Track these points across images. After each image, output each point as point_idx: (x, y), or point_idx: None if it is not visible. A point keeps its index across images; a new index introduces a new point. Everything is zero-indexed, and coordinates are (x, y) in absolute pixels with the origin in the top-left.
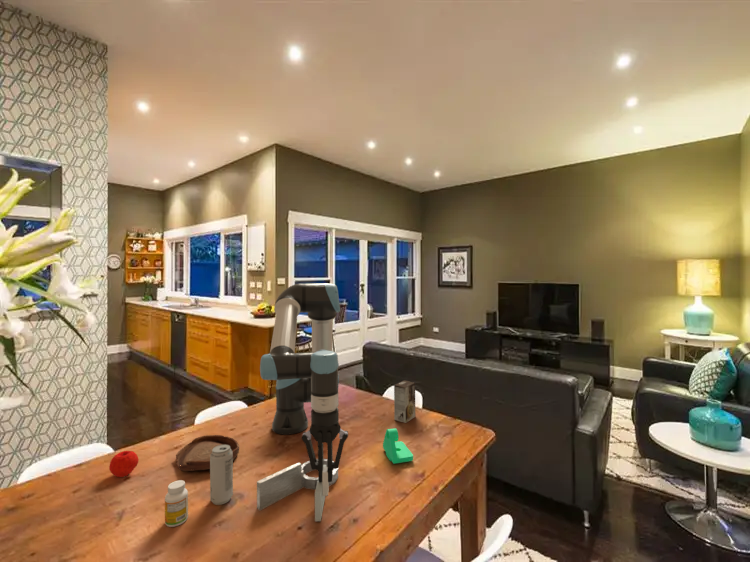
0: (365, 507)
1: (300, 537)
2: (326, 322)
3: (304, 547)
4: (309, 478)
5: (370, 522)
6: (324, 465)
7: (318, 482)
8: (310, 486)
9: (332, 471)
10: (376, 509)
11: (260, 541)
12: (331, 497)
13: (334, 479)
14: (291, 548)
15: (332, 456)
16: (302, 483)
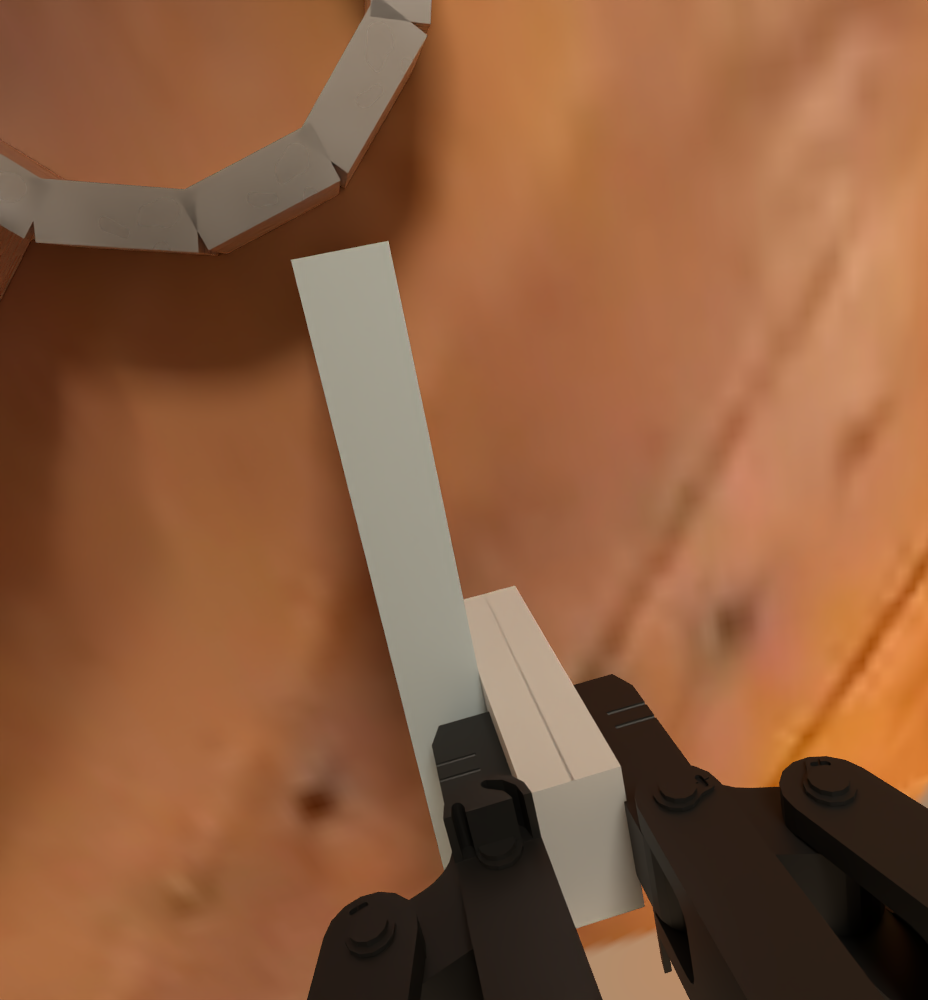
0: (804, 454)
1: (367, 880)
2: None
3: None
4: (90, 228)
5: (848, 619)
6: (358, 278)
7: (433, 757)
8: (141, 250)
9: (671, 741)
10: (895, 461)
11: (81, 990)
12: (456, 367)
13: (416, 61)
14: None
15: (823, 918)
16: (6, 240)
